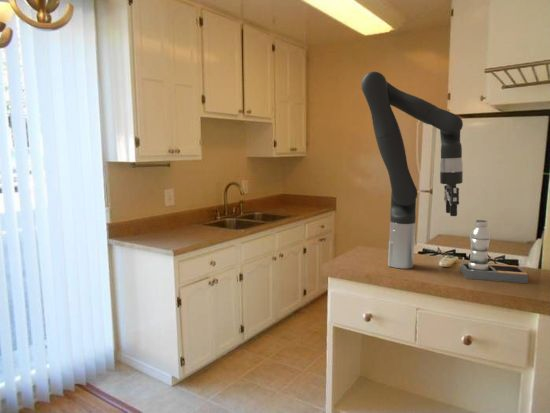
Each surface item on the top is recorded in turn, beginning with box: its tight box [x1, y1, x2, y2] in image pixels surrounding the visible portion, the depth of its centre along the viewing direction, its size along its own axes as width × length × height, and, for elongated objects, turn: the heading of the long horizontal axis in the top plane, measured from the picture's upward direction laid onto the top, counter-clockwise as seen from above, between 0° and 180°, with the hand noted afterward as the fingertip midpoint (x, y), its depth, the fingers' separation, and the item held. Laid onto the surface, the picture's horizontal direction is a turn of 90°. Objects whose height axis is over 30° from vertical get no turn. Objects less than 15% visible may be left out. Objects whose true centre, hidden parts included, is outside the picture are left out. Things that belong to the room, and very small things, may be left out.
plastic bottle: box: [468, 219, 491, 271], centre depth 141 cm, size 6×7×20 cm
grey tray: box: [459, 262, 529, 284], centre depth 141 cm, size 19×10×3 cm, turn 76°
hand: (451, 214), depth 146 cm, fingers open, 8 cm apart
